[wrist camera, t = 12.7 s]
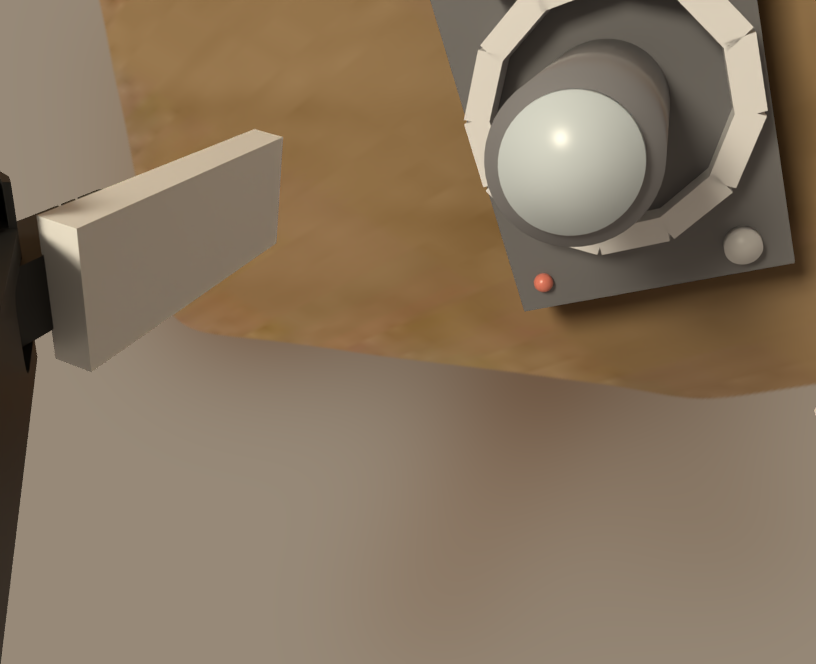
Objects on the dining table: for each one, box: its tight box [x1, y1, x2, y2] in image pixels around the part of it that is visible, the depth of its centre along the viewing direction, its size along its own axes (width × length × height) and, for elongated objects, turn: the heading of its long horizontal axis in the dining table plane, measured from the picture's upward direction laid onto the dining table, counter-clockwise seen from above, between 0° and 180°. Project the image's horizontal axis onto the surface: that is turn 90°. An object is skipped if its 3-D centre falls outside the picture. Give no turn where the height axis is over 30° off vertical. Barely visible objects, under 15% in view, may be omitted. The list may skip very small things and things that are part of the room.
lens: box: [484, 39, 670, 247], centre depth 27 cm, size 6×6×10 cm
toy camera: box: [430, 0, 795, 311], centre depth 32 cm, size 18×13×6 cm
